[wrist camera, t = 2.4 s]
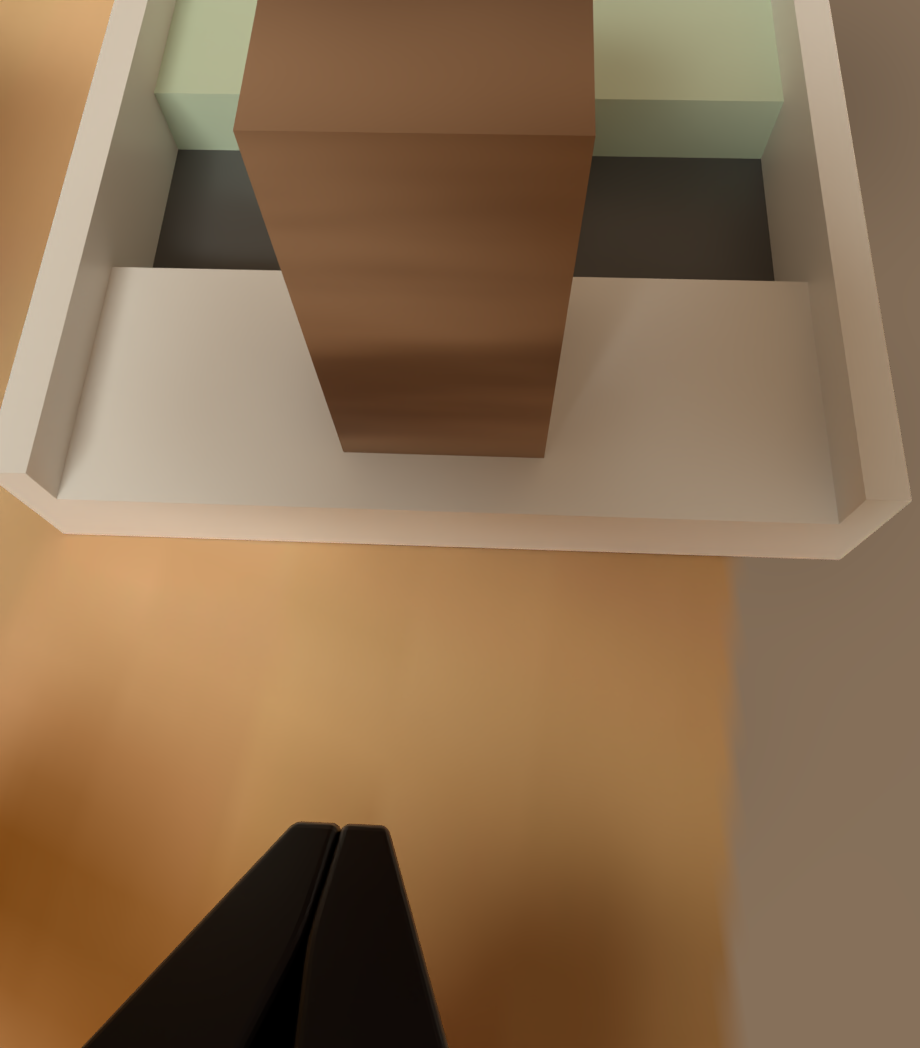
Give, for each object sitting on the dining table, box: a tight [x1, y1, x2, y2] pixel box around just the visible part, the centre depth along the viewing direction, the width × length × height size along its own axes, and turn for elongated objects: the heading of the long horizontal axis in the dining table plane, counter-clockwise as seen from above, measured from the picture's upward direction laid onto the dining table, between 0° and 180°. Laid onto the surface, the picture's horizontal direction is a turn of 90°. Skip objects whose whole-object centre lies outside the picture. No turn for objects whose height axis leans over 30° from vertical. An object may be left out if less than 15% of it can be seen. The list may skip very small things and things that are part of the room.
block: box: [233, 0, 596, 458], centre depth 17 cm, size 5×5×10 cm
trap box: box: [0, 0, 912, 560], centre depth 25 cm, size 21×21×4 cm
